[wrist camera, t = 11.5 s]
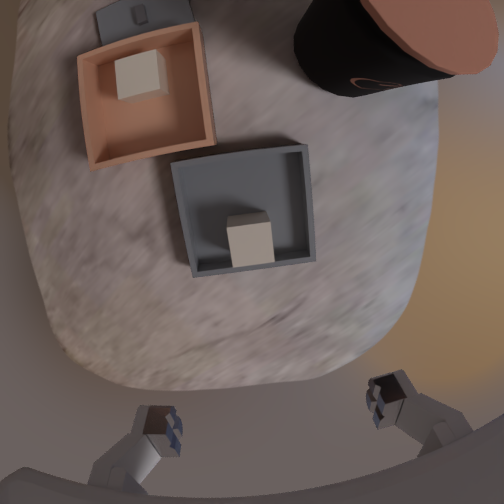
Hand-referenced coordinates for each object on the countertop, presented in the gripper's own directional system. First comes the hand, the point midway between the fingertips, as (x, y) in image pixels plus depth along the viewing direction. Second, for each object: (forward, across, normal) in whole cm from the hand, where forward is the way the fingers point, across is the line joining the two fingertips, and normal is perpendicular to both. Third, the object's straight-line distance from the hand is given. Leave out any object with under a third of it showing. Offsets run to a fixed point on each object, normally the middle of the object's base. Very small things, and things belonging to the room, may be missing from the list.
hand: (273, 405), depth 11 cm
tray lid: (+23, +8, -26) cm, 35 cm away
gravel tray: (+23, 0, -3) cm, 23 cm away
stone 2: (+22, 0, 0) cm, 22 cm away
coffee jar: (+23, -12, -19) cm, 32 cm away
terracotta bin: (+23, +8, -16) cm, 29 cm away
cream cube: (+22, +8, -18) cm, 30 cm away
